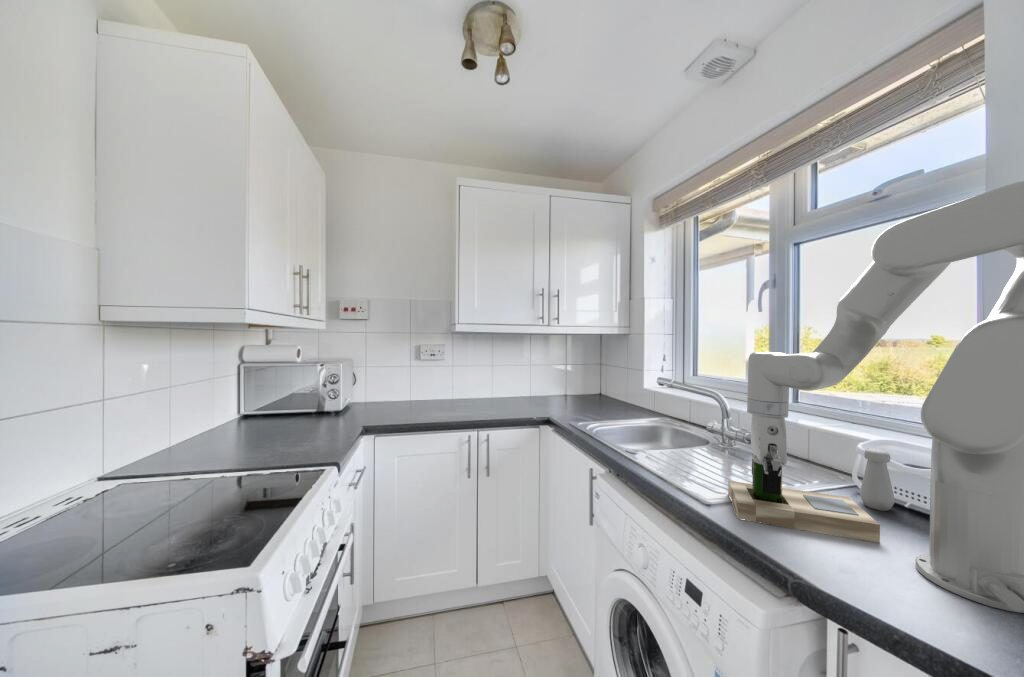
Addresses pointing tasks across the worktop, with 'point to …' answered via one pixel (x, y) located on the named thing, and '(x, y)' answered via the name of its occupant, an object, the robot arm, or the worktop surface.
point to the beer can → (757, 484)
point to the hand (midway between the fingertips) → (765, 484)
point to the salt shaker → (877, 481)
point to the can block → (806, 512)
